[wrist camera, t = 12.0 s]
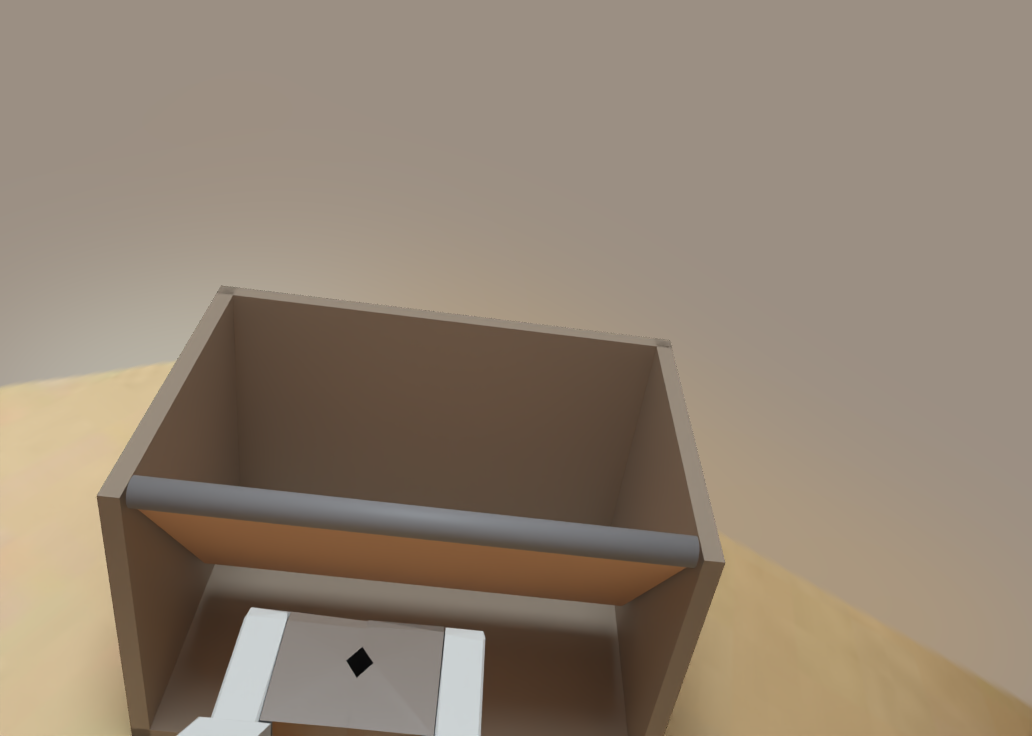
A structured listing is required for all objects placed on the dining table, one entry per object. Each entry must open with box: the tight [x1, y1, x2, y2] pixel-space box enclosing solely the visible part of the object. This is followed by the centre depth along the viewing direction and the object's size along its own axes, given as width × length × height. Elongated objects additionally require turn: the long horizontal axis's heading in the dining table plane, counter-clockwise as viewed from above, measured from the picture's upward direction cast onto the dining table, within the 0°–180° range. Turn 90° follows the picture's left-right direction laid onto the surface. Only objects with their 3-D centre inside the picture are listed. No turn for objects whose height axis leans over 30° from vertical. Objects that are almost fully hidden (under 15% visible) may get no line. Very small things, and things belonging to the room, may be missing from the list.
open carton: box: [97, 286, 725, 736], centre depth 44 cm, size 23×16×14 cm
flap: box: [126, 475, 699, 606], centre depth 40 cm, size 21×1×14 cm
